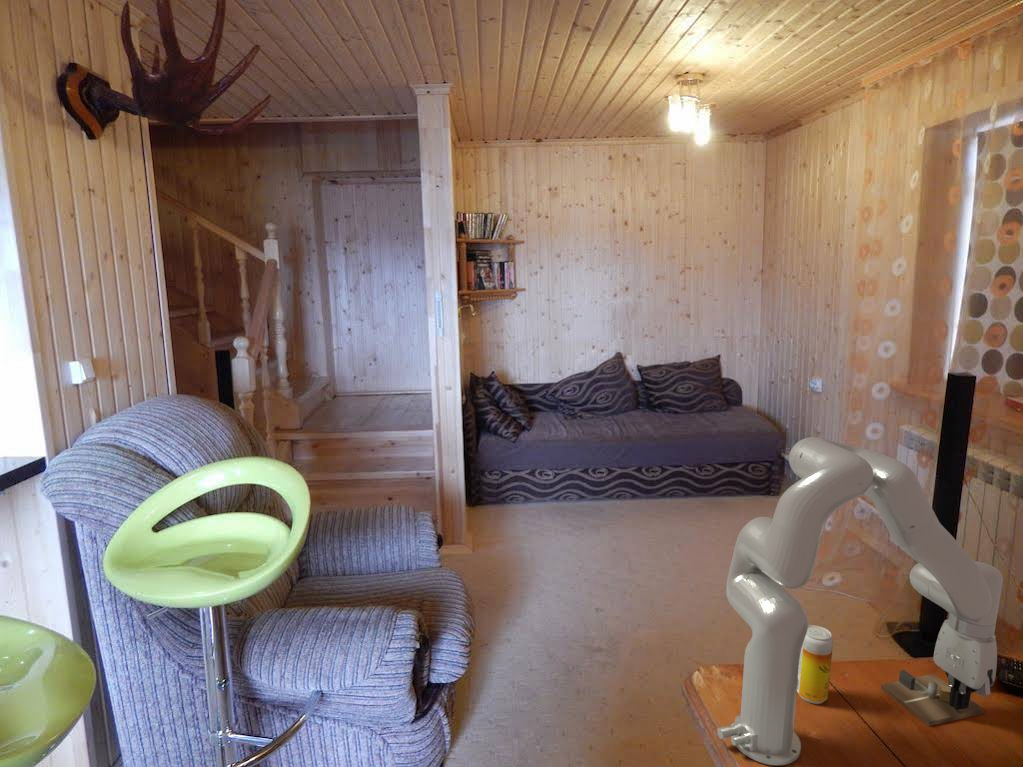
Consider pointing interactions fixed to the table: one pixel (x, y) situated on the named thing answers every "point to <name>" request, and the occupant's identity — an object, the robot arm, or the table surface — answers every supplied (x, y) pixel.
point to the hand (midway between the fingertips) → (958, 706)
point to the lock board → (927, 699)
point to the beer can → (815, 665)
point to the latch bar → (945, 693)
